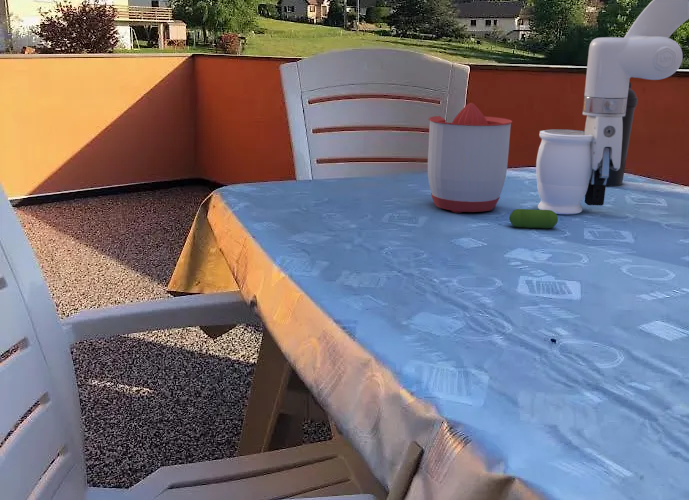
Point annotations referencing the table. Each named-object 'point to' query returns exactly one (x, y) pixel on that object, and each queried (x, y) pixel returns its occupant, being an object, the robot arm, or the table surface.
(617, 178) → the water bottle
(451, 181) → the citrus juicer
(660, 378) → the table surface
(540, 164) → the jar
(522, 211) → the pickle
